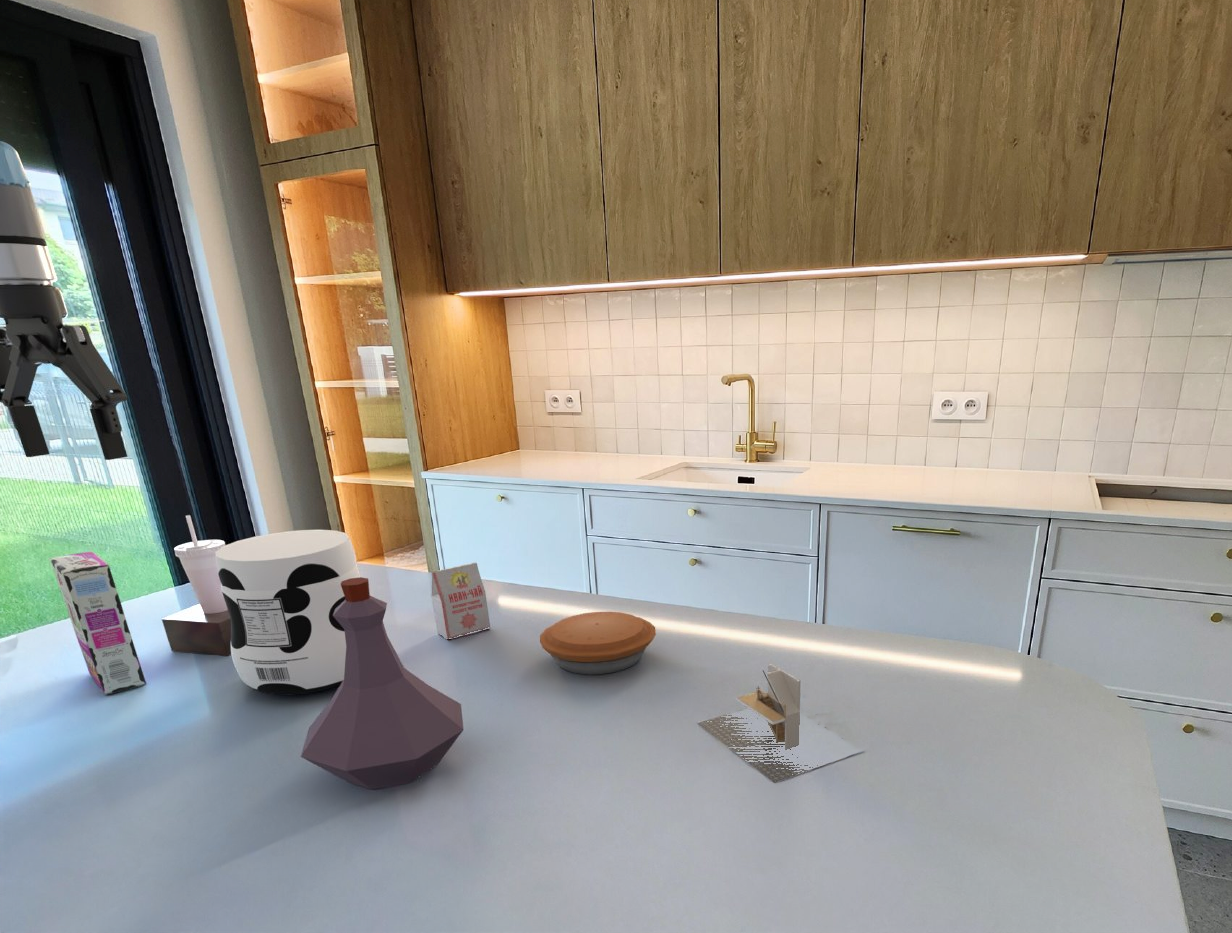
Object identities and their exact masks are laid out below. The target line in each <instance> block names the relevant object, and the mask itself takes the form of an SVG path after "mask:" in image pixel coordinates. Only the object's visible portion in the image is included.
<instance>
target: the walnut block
mask: <svg viewBox="0 0 1232 933" xmlns="http://www.w3.org/2000/svg"><path fill="white" fill-rule="evenodd" d="M161 621H162V626H163V628H164V631H165V635H166V638H167V641H168V645H169V648H170V651H171V652H179V653H188V654H189V653H190V654H201V655H212V656H213V655H214V656H222V657H223V656H224V657H228V656H230V655H231V621H230V616H229V612H228V610H227V611H224V612H219V613H211V614H208V613H204V612H203V610H202V608H201V606H200V603H199V604H196V605H193V606H191V607H188V608H186V609H183V610H181V611H178V612H176V613H173V614H171V615H167V616H166V617H163V618H161ZM231 656H232V655H231Z"/></svg>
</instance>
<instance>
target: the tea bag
mask: <svg viewBox="0 0 1232 933" xmlns="http://www.w3.org/2000/svg"><path fill="white" fill-rule="evenodd" d="M478 566H479V565H478V563H477V562H471V563H467V564H462V565H458V566H453V567H448V568H443V569H439V570H434V571H431V594H430V595H431V597H430V598H431V603H432V608H433V615H434V619H435V626H436V632H437V634H438V633H439V634H440V635H442V636H443V637H445V638H447V639H449V638H454V637H457V636H459V635H465V634H467V633H470V632H474V631H478V630H483V629H485V628H488V627H490V628H491V623H490V616H489V608H488V601H487V593H486V590H485V586H484V583H483V580H482V577H481V573H480V571H479V567H478ZM440 635H439V636H440ZM443 637H442V638H443ZM445 638H444V639H445Z"/></svg>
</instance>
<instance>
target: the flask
mask: <svg viewBox="0 0 1232 933" xmlns="http://www.w3.org/2000/svg"><path fill="white" fill-rule="evenodd" d="M341 587H342V590H343V593H344V596H345V599H346V600H345V601H343V602H342V603H341V604H340V605H339V606H338V607H337V608H336V609H335V611H334V614H333V617H334V618H335V619H336V620H337V621H338V622H339V624H340V625H341V626H342V627H343V628H344V631H345V639H346V658H345V672H344V680H343V681H342V683H341V685H339V686H338V687H337V689H336V690H335V693H334V694H333V696H332V698H331V699H330V701H328V702H327V704H326V705H325V707H324V708H323V709H322V711H320V713H319V714H318V716H317V717H316V718H315V720H314V721H313V722H312V724H311V725H310V726H309V727H308V730H307V733H306V736H305V740H304V743H303V744H304V745H303V747H302V751H301V754H300V758H301V759H304V760H306V761H308V762H310V763H311V764H313V765H315V766H317V767H319V768H321V769H323V770H325V771H326V772H329V773H330V774H332V775H334V776H336V777H338V778H340V779H341V780H344V781H345V782H347V783H350V784H352V785H353V784H354V785H357V786H360V787H363V788H366V789H369V790H373V791H374V790H379V789H385V788H390V787H397V786H401V785H400V784H402V785H407V784H411V783H413V782H414V781H416V780H418V779H419V778H420V777H422V776H423V775H425V774H427V773H428V772H430V771H431V770H432V769H431V768H433V767H434V766H436V765H437V766H438V764H439V763H440V762H441V761H442V760H443V758H444V757H445V755H446V754H447V753H448V752H449V751H450V749H451V747H452V746H453V745H454V743H455V742H456V741H457V739H458V738H459V737H460V735H462V733H463V732H464V729H465V728H464V722H463V720H464V719H463V711H462V703H460V702H458V701H457V700H455V699H453V698H451V697H449V696H448V695H446V694H444V693H443V692H441V691H439V690H438V689H436V688H434V687H433V686H431V685H429V684H428V683H426V682H425V681H423V680H422V679H421V678H420V677H418V676H416V675H415V674H413V673H412V672H411V671H409V670H408V669H406V668H405V666H404V665H403V663H402V661H401V659H400V657H399V655H398V653H397V651H396V649H395V647H394V646H393V644H392V642H391V640H390V638H389V637H388V633H387V629H386V627H385V623H384V618H385V614H386V611H387V607H388V606H387V605H388V602H386V601H383V600H382V599H379V598H376V597H374V596H372V595H371V594H370V583H369V578H367V577H360V578H351V579H347V580H344V581H342V582H341ZM437 766H436V767H437ZM434 768H435V767H434ZM434 768H433V769H434ZM430 769H431V770H430ZM429 770H430V771H429ZM427 771H428V772H427ZM426 772H427V773H426ZM424 773H425V774H424ZM422 774H423V775H422ZM421 775H422V776H421ZM419 776H420V777H419ZM418 777H419V778H418ZM415 779H416V780H415ZM412 781H413V782H412Z"/></svg>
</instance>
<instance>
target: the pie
mask: <svg viewBox="0 0 1232 933" xmlns="http://www.w3.org/2000/svg"><path fill="white" fill-rule="evenodd" d="M656 635H657V633H656V626H654V624H652V623H651V622H650V621H648V620H647V619H644V618H642V617H639V616H635V615H633V614H630V613H625V612H619V611H593V612H584V613H579V614H574V615H571V616H567V617H565V618H563V619H561V620H559V621H557V622H555V623H554V624H552V625H550V626H548V627H547V628H545V629H544V630H543V631H542V632H541V633H540V635H539V643H540V645H541V647H542V649H543V650H544V651H546V653H548V654H550V656H551V658H553V660H554V661H555V662H556V664H557V665H558V666H559V667H560V668H562V669H564V670H565V671H567V672H571V673H574V674H580V675H606V674H612V673H616V672H620V671H623V670H626V669H628V668H631V667H633V666H634V665H636V664H637V663H638V662H639V661H640V659H641V657H642V656H643V654H644V652H645V650H646V649H647V647H648V646H649V645H650V644H651V643H652V642H653V640H654V638H655V637H656Z"/></svg>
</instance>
